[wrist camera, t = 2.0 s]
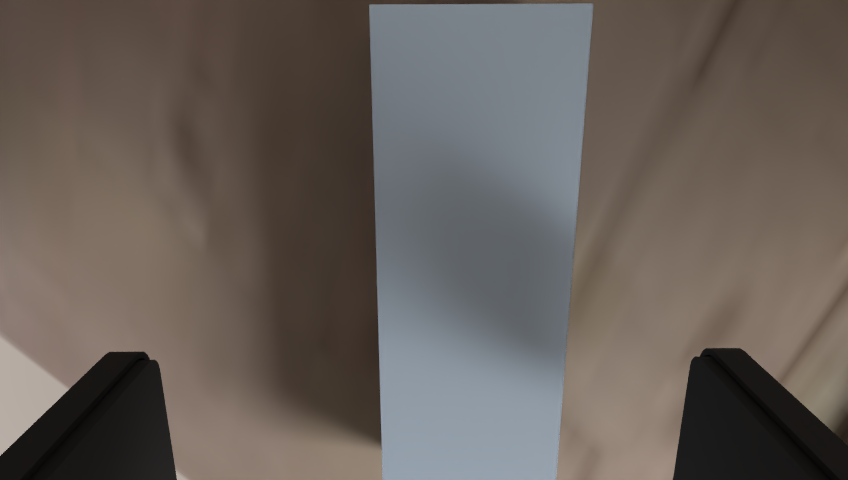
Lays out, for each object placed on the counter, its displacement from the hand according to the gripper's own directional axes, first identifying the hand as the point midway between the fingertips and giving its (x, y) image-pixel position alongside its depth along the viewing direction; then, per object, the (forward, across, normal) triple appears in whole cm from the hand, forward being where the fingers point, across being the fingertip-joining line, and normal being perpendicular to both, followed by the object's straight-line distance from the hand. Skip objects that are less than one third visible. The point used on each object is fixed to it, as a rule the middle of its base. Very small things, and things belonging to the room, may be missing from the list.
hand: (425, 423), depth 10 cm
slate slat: (+8, -1, 0) cm, 8 cm away
